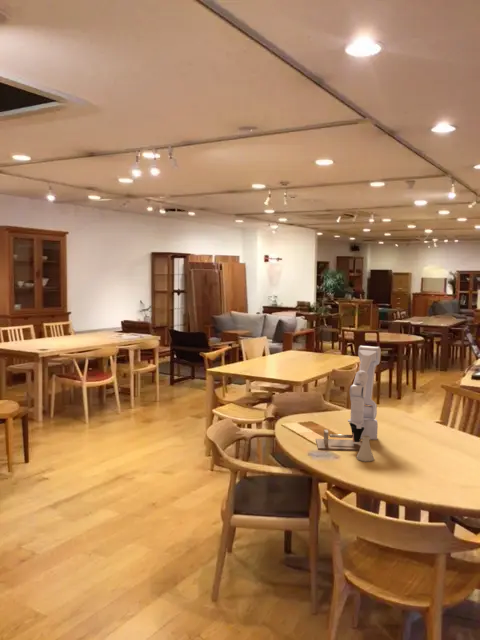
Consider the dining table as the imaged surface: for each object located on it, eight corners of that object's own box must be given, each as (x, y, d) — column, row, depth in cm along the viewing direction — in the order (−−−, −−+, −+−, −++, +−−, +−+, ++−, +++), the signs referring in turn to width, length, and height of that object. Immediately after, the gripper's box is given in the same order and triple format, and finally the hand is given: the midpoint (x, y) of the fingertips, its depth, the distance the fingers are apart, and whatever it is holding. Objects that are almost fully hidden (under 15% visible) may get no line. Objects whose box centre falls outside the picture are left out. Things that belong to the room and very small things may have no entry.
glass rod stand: (357, 440, 267) (358, 429, 267) (359, 443, 262) (359, 432, 262) (328, 439, 268) (329, 428, 268) (330, 442, 263) (330, 431, 263)
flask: (363, 463, 242) (364, 439, 241) (353, 457, 249) (353, 435, 248) (377, 460, 246) (378, 437, 245) (366, 455, 252) (367, 433, 251)
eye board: (362, 441, 272) (363, 427, 271) (367, 451, 258) (368, 436, 257) (315, 440, 273) (316, 426, 272) (318, 449, 259) (318, 435, 258)
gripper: (346, 406, 271) (345, 435, 272) (350, 414, 257) (349, 444, 258) (361, 407, 271) (360, 435, 272) (366, 414, 256) (365, 445, 257)
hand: (356, 440), depth 265 cm, fingers closed on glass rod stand, 5 cm apart
